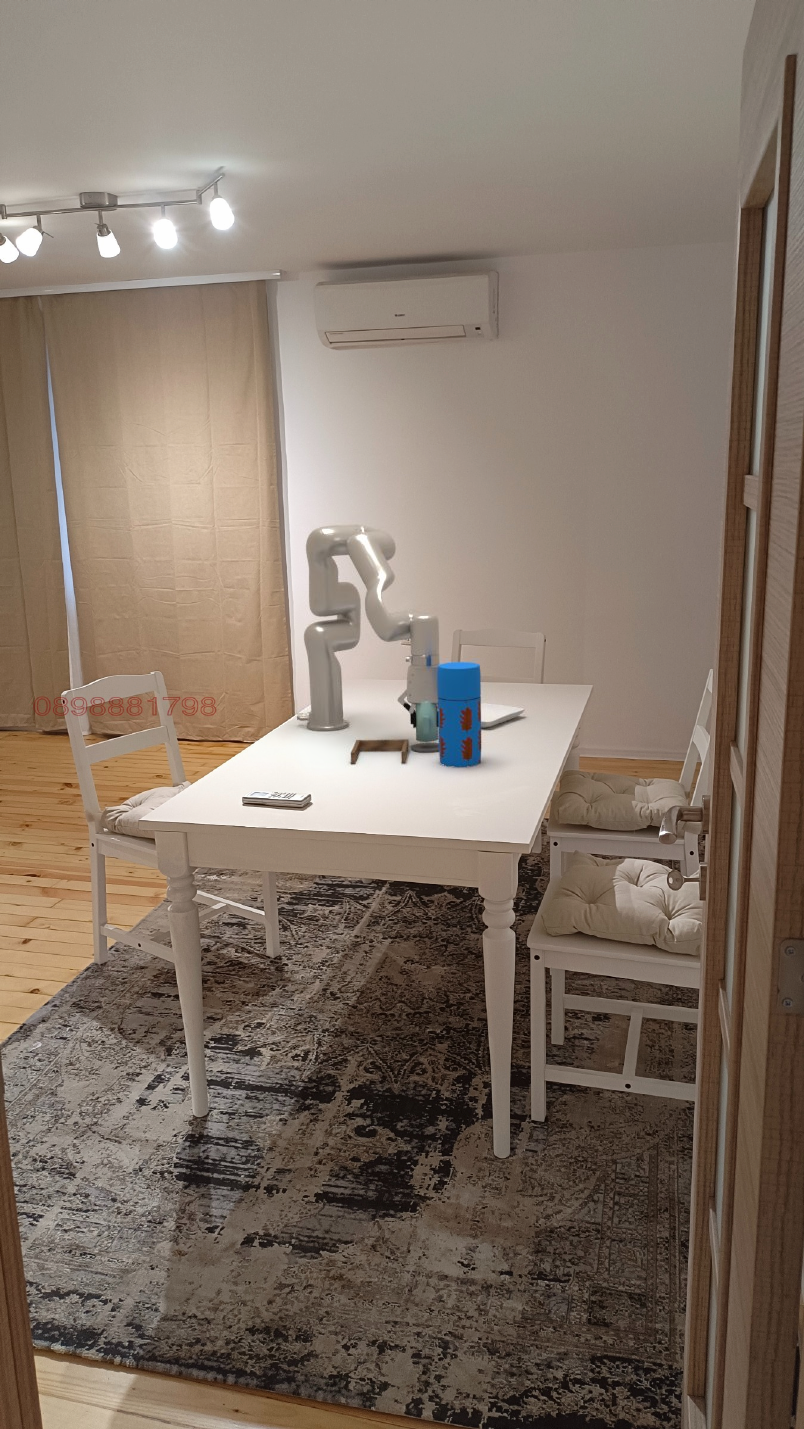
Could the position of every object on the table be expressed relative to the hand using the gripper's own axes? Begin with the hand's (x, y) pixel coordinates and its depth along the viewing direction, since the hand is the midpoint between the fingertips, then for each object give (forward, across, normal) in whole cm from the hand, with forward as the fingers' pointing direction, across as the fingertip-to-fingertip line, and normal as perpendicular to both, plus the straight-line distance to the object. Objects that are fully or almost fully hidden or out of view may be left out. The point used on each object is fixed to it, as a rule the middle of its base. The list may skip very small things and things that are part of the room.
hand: (426, 726), depth 277 cm
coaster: (+6, 0, 0) cm, 6 cm away
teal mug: (+4, 0, -1) cm, 4 cm away
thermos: (+6, +9, -14) cm, 18 cm away
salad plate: (+7, +14, +34) cm, 38 cm away
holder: (+6, -12, -8) cm, 16 cm away
